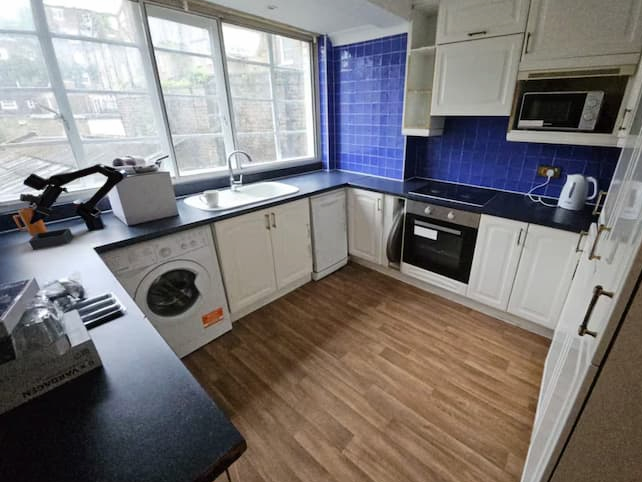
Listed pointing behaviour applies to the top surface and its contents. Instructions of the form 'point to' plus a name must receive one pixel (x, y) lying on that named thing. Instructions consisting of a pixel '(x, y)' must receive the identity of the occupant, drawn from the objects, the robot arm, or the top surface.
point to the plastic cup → (81, 201)
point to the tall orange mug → (26, 217)
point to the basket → (50, 238)
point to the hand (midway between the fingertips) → (29, 222)
